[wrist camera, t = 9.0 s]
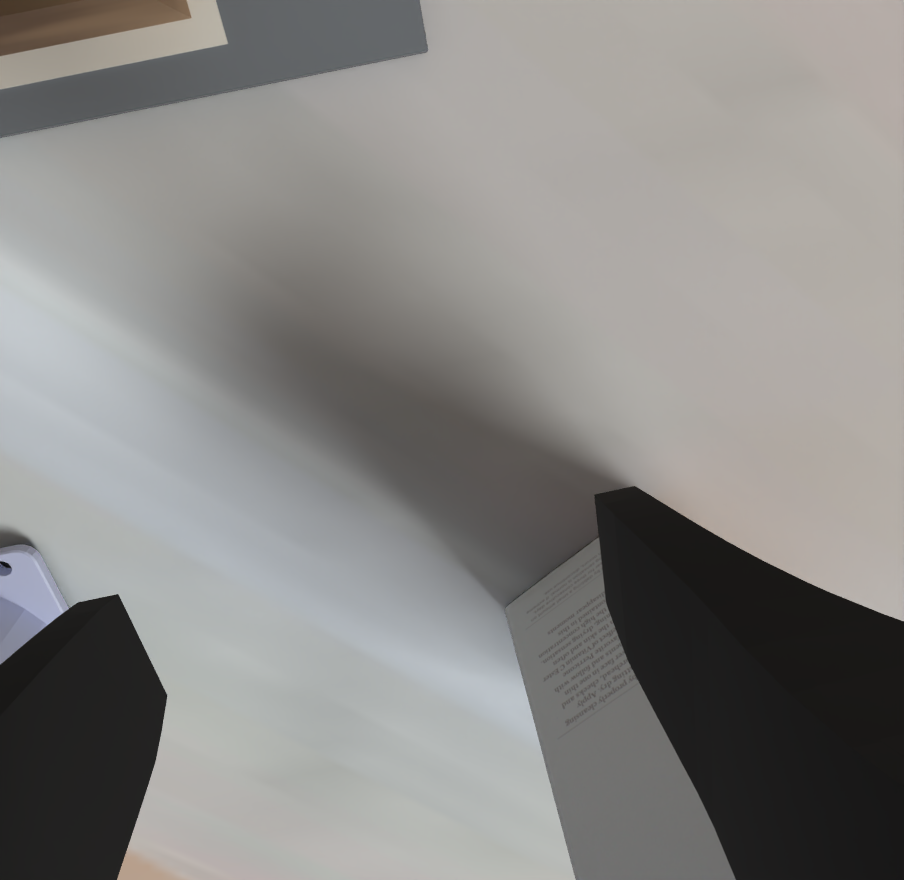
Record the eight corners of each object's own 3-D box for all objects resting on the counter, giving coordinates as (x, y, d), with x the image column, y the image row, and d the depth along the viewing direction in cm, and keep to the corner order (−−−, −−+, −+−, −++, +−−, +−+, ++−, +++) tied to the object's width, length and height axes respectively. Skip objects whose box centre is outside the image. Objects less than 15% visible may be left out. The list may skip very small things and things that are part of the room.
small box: (770, 631, 26) (1102, 1068, 14) (629, 725, 27) (825, 1196, 15) (648, 491, 23) (943, 899, 11) (497, 604, 24) (614, 1078, 12)
